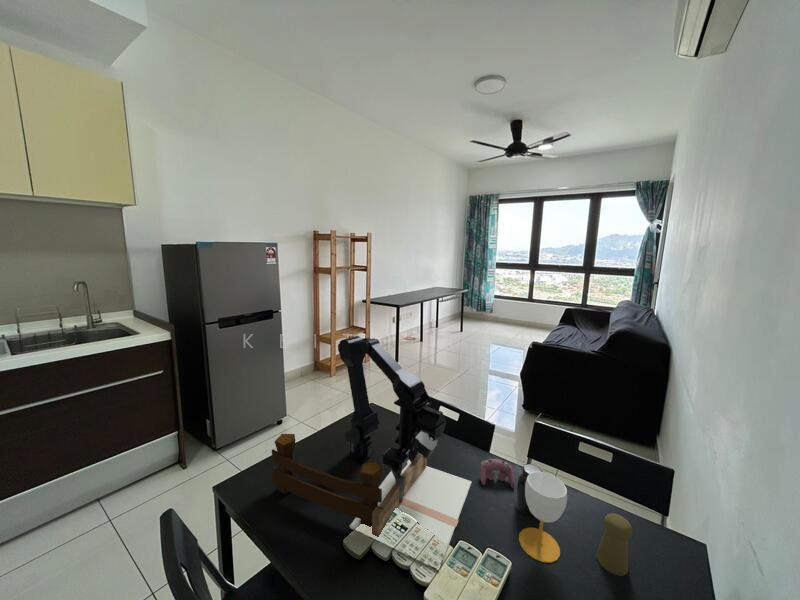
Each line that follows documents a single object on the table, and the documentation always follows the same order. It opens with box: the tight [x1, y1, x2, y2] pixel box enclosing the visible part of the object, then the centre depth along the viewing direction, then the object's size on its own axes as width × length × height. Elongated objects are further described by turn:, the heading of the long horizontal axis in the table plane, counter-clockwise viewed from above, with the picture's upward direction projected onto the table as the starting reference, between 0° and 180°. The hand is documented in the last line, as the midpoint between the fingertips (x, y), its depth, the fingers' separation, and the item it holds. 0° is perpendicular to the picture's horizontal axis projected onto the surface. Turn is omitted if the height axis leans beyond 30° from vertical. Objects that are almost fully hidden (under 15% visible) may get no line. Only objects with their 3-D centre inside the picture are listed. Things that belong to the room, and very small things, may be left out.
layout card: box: [349, 459, 472, 546], centre depth 87 cm, size 23×30×1 cm
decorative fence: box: [271, 433, 384, 527], centre depth 84 cm, size 34×6×15 cm, turn 67°
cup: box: [518, 471, 568, 564], centre depth 75 cm, size 9×9×16 cm
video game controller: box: [479, 458, 516, 489], centre depth 96 cm, size 10×5×7 cm, turn 85°
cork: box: [595, 512, 633, 577], centre depth 71 cm, size 6×6×11 cm
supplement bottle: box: [515, 463, 544, 520], centre depth 85 cm, size 7×7×12 cm
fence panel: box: [401, 452, 428, 496], centre depth 94 cm, size 15×2×6 cm, turn 151°
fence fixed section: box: [372, 476, 404, 537], centre depth 81 cm, size 2×14×6 cm, turn 155°
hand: (405, 470), depth 95 cm, fingers open, 9 cm apart
